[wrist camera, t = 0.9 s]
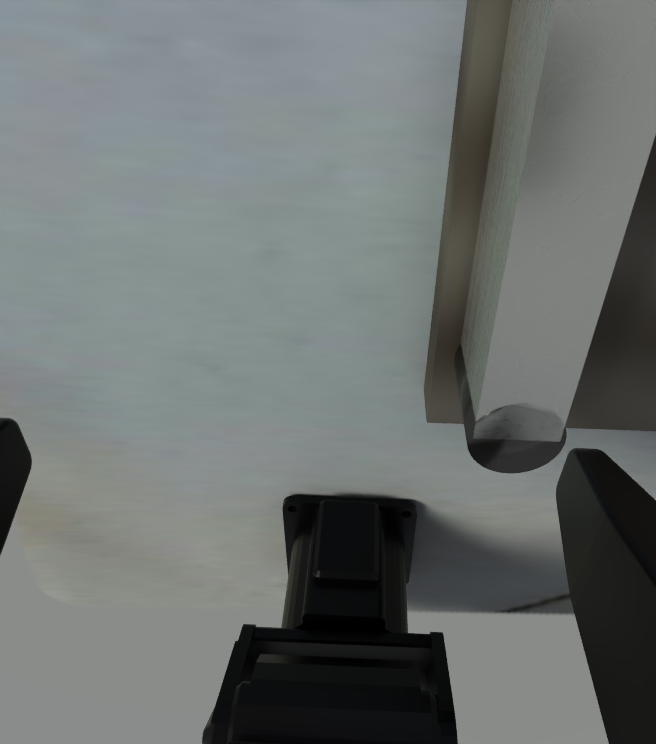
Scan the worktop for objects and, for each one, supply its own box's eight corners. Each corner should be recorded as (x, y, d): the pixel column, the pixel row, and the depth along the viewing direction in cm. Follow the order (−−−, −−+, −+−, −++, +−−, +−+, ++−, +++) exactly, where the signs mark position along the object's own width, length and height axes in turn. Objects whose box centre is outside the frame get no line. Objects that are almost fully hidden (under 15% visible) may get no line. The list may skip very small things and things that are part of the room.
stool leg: (546, -355, 11) (614, -463, 8) (728, -362, 11) (873, -476, 8) (444, 388, 22) (455, 471, 18) (534, 392, 21) (561, 475, 18)
